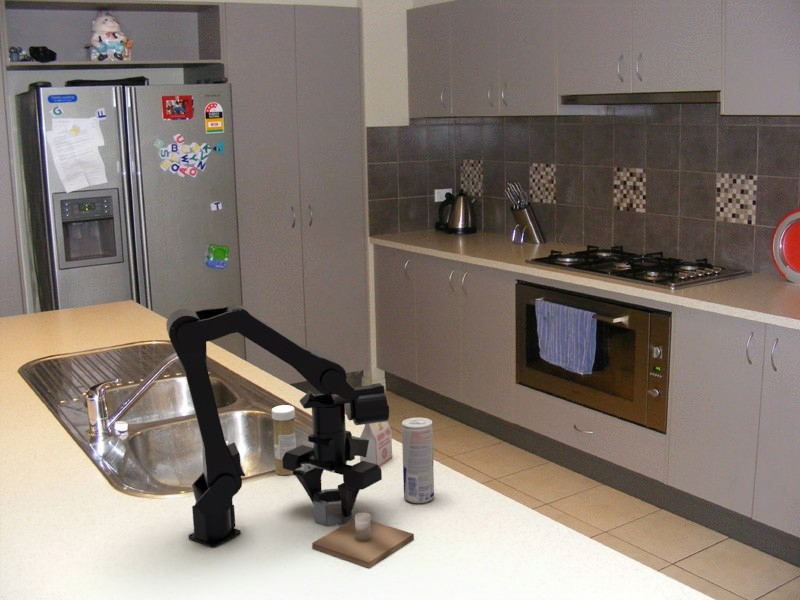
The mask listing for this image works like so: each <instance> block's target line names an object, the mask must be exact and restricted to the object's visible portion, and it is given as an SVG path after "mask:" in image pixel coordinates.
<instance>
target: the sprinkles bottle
mask: <svg viewBox="0 0 800 600" xmlns="http://www.w3.org/2000/svg"><path fill="white" fill-rule="evenodd" d="M295 417H296V411H295V407H294V406H293V405H287V404H286V405H285V404H282V405H278V406H277V405H276V406H275V407H273V408H271V418H272V420H273V421H272V423H273V424H272V425H273V448H274V449H273V450H274V451H273V452H274V462H275V470H274V472H275V473H276V475H280V476H289V475H293V471H291V470H287V469H284V468H283V461H282V458H283V456H284V454H285V452H287V451H290V450H292V449H294V448H297V440H296V439H297V438H296V428H295V427H296V425H295Z"/></svg>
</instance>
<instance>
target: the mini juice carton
mask: <svg viewBox="0 0 800 600" xmlns="http://www.w3.org/2000/svg"><path fill="white" fill-rule="evenodd" d="M392 437H393V436H392V429H391V427H390V425H389V422H388V421H386V422H378V423H371V424H364V427H363V430H362V432H361V433H360V436H359V438H363V439H367V440H369V444H368V450H367V455H366V457H362V456H359V462H361V461H366V462H370V463H374V464H377V465H378V466H380V467H382V466H383V465H385V464H386V463H387V462H389V461H390V460H392V459H393V438H392ZM384 463H385V464H384ZM381 465H382V466H381Z"/></svg>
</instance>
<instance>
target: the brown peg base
mask: <svg viewBox="0 0 800 600" xmlns="http://www.w3.org/2000/svg"><path fill="white" fill-rule="evenodd" d="M413 540H415V534H414V533H412V532H410V531H406V530H402V529H399V528H396V527H393V526H390V525H387V524H382V523H380V522H376V521H374V520H371V515H370V514H369V513H367V512H358V513H356V514H354V518H353V519H352V520H350V521H348V522H346V523H345V524H343V525H340V526H339V527H337V528H336V529H335V530H332V531H331V532H329V533H327V534H325V535H324V536H322V537H320V538H318V539H317V540H315V541H313V542H312V543H311V548H312V549H313V550H315V551H319V552H321V553H323V554H327V555H330V556H333V557H336V558H338V559H342V560H343V561H347V562H350V563H353V564H355V565H358V566H362V567H364V568H367V569H370V568H372V567H373V566H375V565H376V564H378V563H379V562H381V561H383V560H384V559H386V558H387V557H389V556H390V555H391V554H394V553H395V552H396V551H398V550H399V549H401V548H403V547H404V546H406V545H408V544H409V543H410V542H412V541H413Z"/></svg>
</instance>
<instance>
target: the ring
mask: <svg viewBox="0 0 800 600" xmlns="http://www.w3.org/2000/svg"><path fill="white" fill-rule="evenodd" d="M321 490H322V491H320V492H318V493H316V494H314V495H313V500H314V504H313V514H314V515H313V516H314V522H315V523H316V524H319V525H322V526H324V527H330V526H343V525H345V524H347V523H348V522H350V521H352V520H353V512H352V513H351V515H350V516H349V517H345V515H344V512H343V508H342V504H341V499H340V495H339V490H338V487H336V488H327V489H321ZM351 519H352V520H351ZM344 523H345V524H344ZM342 524H343V525H342Z"/></svg>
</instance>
